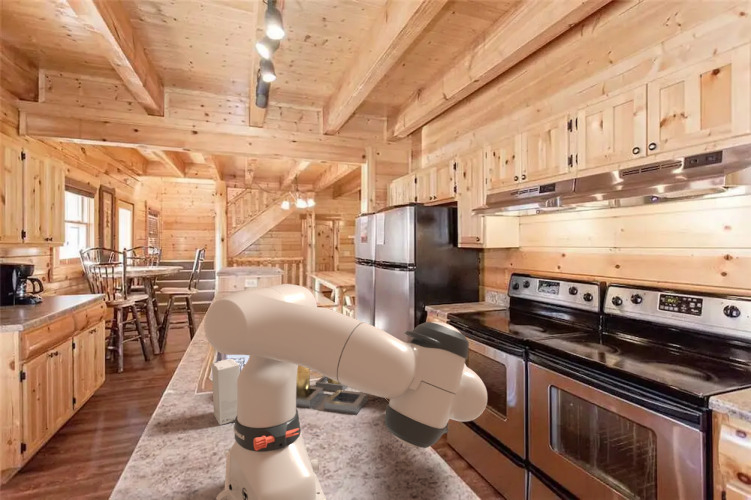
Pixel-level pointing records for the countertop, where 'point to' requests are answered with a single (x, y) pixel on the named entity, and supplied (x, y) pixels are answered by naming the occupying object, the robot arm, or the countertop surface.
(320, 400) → the fixture plate
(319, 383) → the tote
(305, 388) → the cylinder
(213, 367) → the skincare box
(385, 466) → the countertop surface
